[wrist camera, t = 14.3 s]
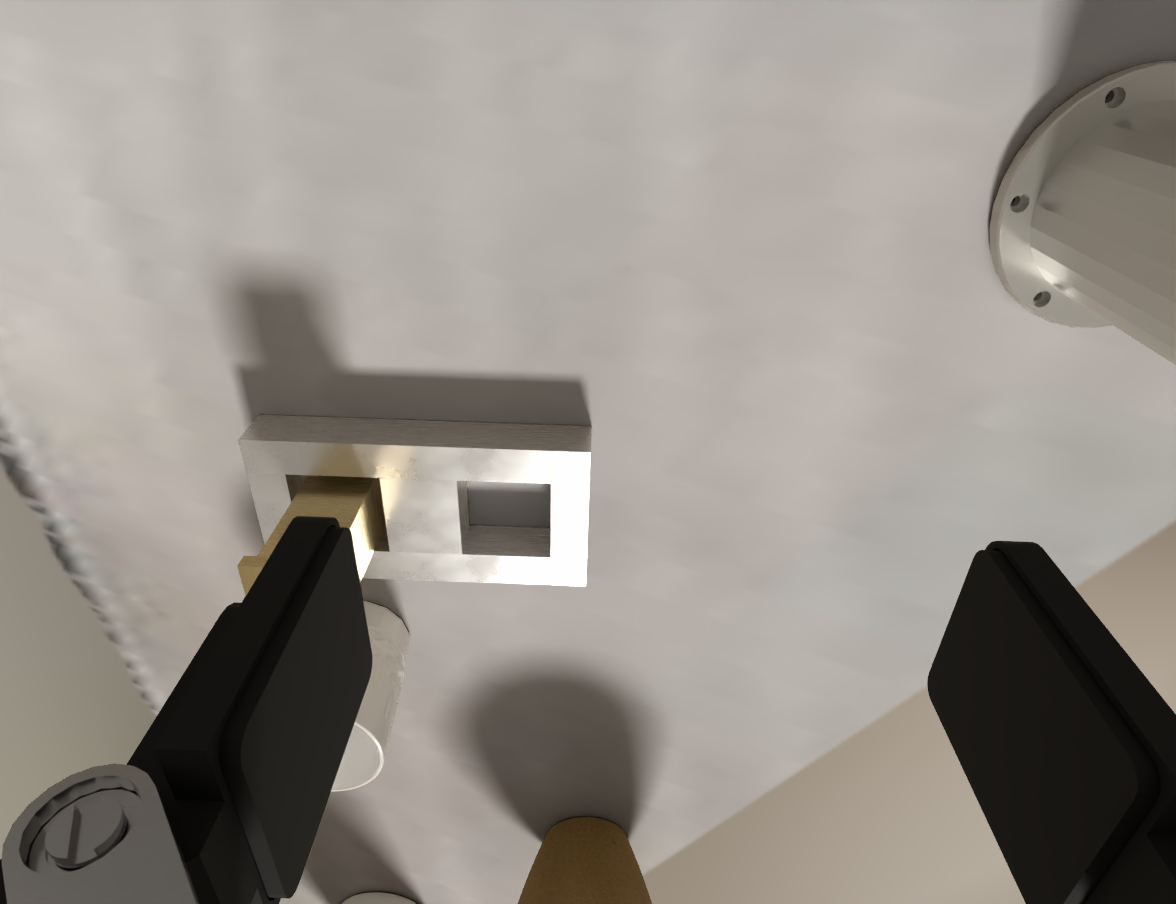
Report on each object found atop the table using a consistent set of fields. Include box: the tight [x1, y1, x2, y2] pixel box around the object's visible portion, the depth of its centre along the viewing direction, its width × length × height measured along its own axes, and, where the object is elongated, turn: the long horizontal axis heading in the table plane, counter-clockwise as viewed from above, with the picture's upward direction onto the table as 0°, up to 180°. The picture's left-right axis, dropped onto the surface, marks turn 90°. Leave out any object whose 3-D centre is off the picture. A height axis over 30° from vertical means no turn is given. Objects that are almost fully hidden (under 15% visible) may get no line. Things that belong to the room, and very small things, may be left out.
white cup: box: [331, 601, 410, 791], centre depth 50 cm, size 8×8×10 cm
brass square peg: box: [238, 475, 386, 595], centre depth 42 cm, size 5×5×11 cm
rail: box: [238, 415, 592, 586], centre depth 46 cm, size 20×10×3 cm, turn 88°
